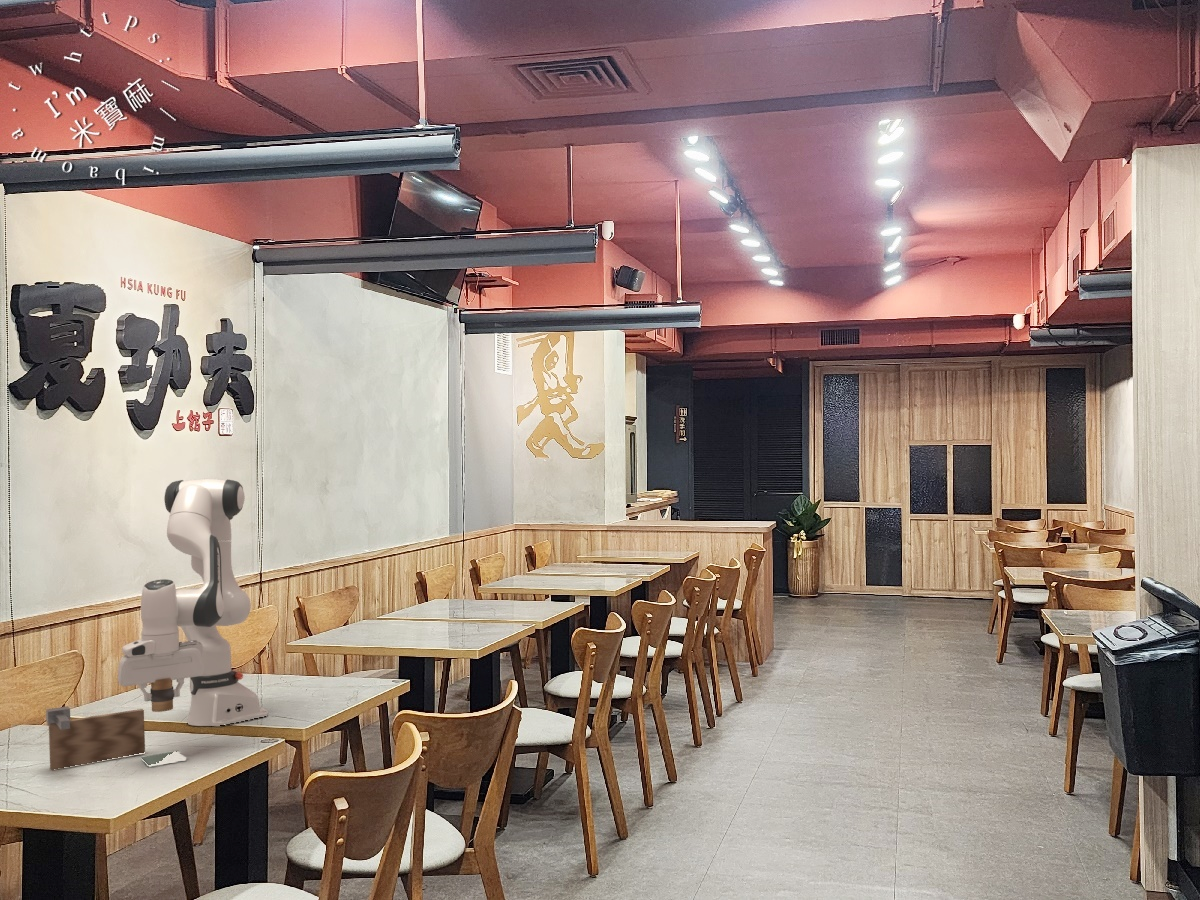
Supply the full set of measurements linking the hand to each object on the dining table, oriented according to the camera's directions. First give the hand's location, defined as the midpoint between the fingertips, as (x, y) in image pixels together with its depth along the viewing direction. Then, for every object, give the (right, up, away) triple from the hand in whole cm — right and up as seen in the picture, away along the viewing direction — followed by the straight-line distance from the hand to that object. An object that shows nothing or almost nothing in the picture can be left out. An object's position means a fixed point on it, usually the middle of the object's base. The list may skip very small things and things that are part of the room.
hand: (162, 698), depth 270 cm
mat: (+1, -16, 0) cm, 16 cm away
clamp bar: (-22, -5, -8) cm, 24 cm away
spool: (0, -3, 0) cm, 3 cm away
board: (-17, -16, +1) cm, 23 cm away
